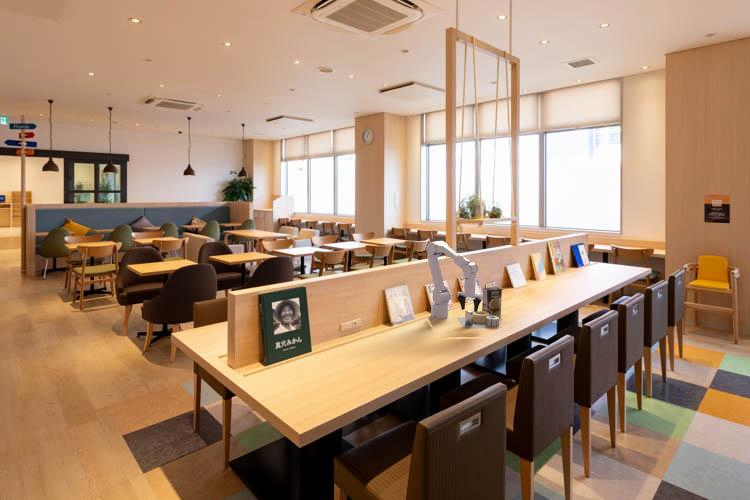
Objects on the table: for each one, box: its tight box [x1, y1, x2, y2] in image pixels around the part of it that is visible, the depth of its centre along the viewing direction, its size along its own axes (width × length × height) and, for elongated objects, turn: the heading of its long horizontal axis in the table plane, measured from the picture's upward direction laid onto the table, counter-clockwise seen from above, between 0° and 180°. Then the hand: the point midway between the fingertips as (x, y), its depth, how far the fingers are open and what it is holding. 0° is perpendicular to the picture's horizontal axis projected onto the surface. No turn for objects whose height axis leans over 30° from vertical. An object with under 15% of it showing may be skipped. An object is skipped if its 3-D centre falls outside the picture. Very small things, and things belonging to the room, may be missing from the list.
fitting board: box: [456, 310, 504, 329], centre depth 246 cm, size 20×20×5 cm
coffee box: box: [481, 286, 503, 318], centre depth 262 cm, size 9×6×16 cm
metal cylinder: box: [464, 310, 474, 325], centre depth 243 cm, size 4×4×7 cm
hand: (469, 310), depth 242 cm, fingers open, 7 cm apart
